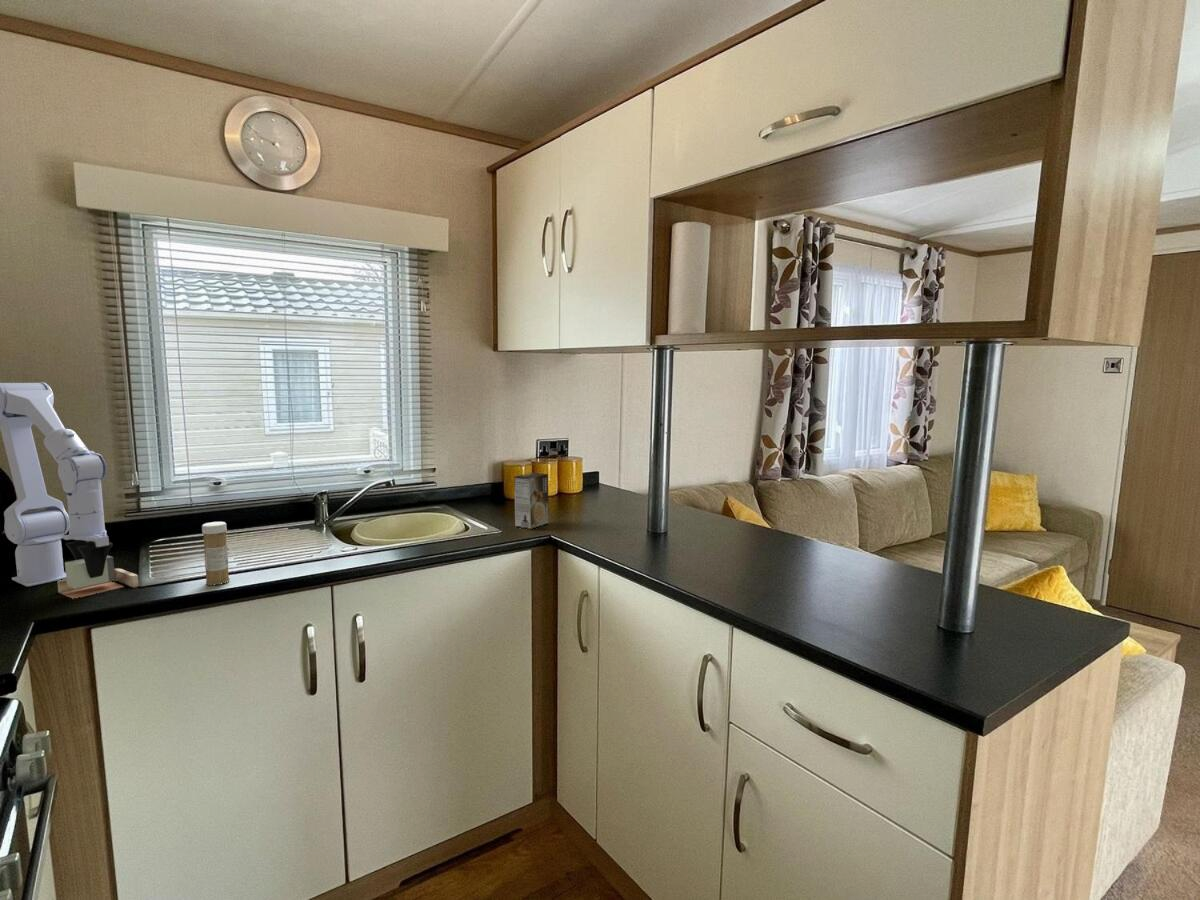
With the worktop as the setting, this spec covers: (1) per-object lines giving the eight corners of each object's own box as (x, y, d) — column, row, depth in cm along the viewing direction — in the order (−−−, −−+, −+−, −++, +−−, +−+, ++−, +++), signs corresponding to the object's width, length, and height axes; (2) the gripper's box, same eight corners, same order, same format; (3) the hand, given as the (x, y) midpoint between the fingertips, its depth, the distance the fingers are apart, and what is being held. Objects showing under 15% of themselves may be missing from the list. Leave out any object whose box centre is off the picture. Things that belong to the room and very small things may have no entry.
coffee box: (533, 522, 201) (532, 472, 199) (549, 524, 197) (548, 473, 195) (514, 527, 193) (513, 475, 191) (530, 530, 189) (530, 477, 188)
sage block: (67, 585, 132) (64, 562, 132) (106, 576, 138) (104, 554, 138) (75, 588, 130) (72, 565, 130) (115, 579, 136) (113, 557, 136)
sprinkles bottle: (212, 579, 142) (208, 521, 140) (233, 579, 142) (230, 520, 141) (201, 586, 137) (197, 525, 136) (223, 585, 138) (219, 525, 136)
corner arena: (58, 592, 133) (57, 581, 133) (119, 578, 142) (118, 568, 142) (76, 600, 128) (75, 589, 128) (138, 586, 137) (137, 575, 137)
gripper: (48, 511, 133) (54, 573, 135) (76, 519, 125) (82, 585, 127) (89, 505, 139) (94, 565, 141) (118, 513, 131) (123, 576, 133)
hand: (91, 574), depth 134 cm, fingers closed on sage block, 4 cm apart
